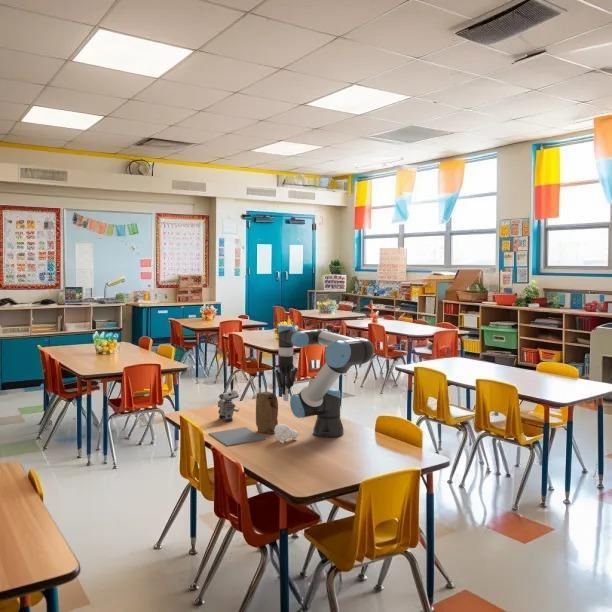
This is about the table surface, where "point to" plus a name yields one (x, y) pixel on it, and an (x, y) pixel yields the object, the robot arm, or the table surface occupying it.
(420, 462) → the table surface
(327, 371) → the robot arm
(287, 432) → the white lumpy piece
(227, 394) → the figurine
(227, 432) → the mat
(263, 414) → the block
